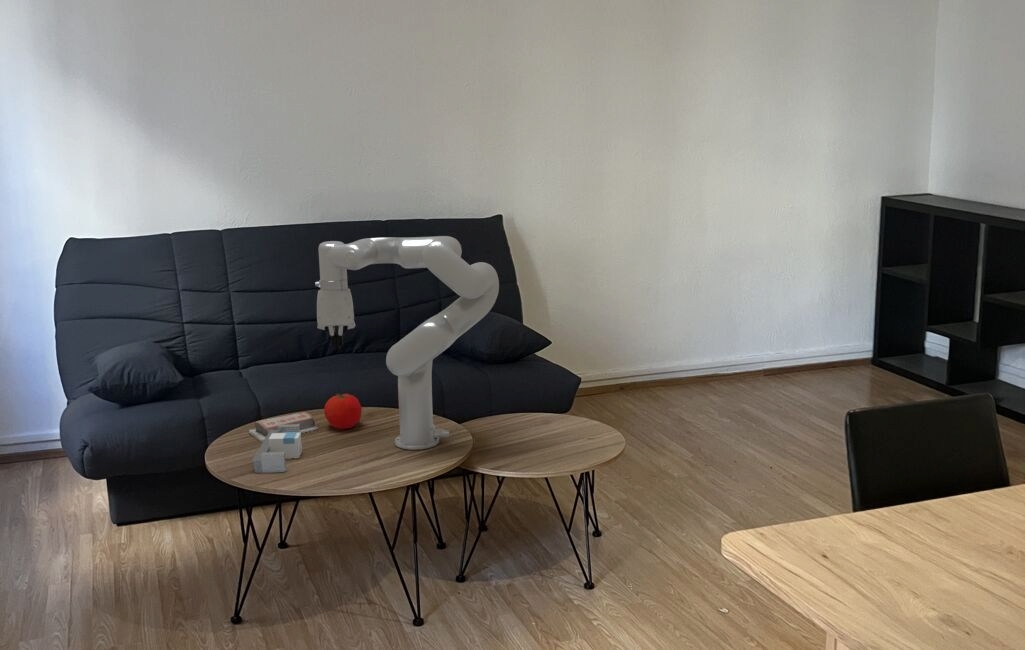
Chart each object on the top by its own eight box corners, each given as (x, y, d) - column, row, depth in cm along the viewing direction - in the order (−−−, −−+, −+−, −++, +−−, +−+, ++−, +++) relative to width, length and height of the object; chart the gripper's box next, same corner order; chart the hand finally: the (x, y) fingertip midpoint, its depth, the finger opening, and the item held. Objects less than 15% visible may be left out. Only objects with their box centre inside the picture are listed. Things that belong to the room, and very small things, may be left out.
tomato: (367, 420, 332) (365, 388, 330) (356, 433, 320) (355, 400, 317) (331, 420, 333) (329, 388, 331) (319, 433, 321) (317, 400, 319)
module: (302, 452, 305) (300, 432, 303) (299, 458, 300) (297, 437, 298) (273, 453, 304) (272, 432, 303) (270, 459, 299) (268, 438, 298)
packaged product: (303, 408, 331) (318, 416, 323) (304, 423, 332) (318, 431, 324) (247, 419, 321) (261, 427, 313) (248, 435, 322) (262, 443, 314)
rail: (300, 440, 314) (299, 424, 313) (284, 472, 289) (283, 454, 288) (271, 441, 314) (269, 425, 313) (252, 473, 289) (251, 455, 288)
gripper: (305, 288, 302) (309, 352, 306) (359, 287, 302) (362, 350, 306) (309, 283, 309) (313, 345, 313) (362, 282, 310) (365, 344, 314)
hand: (337, 348), depth 310 cm, fingers closed
